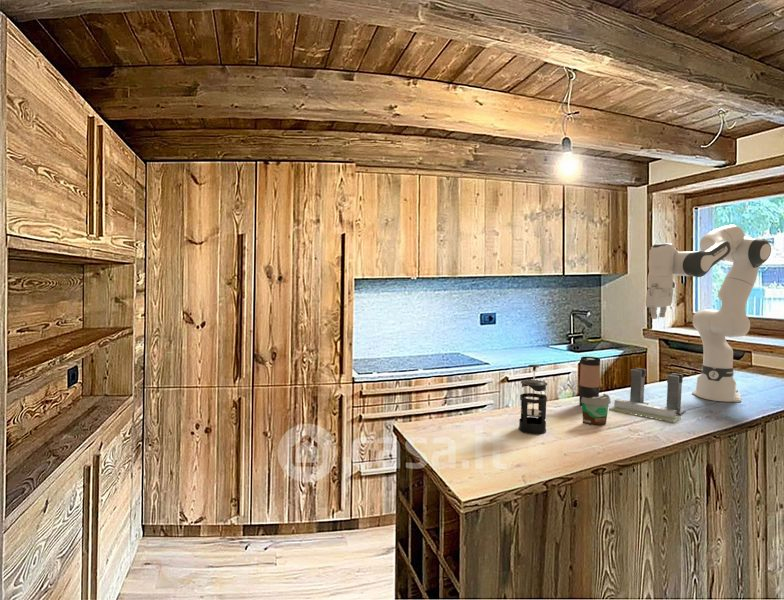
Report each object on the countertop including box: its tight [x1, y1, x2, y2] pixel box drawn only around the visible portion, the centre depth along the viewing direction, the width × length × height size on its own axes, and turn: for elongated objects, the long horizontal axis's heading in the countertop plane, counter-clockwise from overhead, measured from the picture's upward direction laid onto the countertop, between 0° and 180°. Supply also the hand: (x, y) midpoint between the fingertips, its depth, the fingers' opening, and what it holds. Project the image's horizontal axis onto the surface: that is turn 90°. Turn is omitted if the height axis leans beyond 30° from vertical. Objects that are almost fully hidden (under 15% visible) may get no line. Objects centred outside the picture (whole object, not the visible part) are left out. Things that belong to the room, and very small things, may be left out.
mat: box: [608, 405, 682, 424], centre depth 202 cm, size 8×24×1 cm, turn 45°
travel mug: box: [578, 356, 601, 407], centre depth 212 cm, size 8×8×20 cm
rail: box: [613, 398, 677, 419], centre depth 202 cm, size 3×22×3 cm, turn 45°
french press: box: [518, 364, 548, 435], centre depth 180 cm, size 12×9×23 cm
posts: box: [629, 367, 687, 416], centre depth 210 cm, size 7×21×15 cm, turn 45°
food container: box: [581, 393, 612, 427], centre depth 188 cm, size 12×6×10 cm, turn 117°
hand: (658, 318), depth 208 cm, fingers open, 8 cm apart
